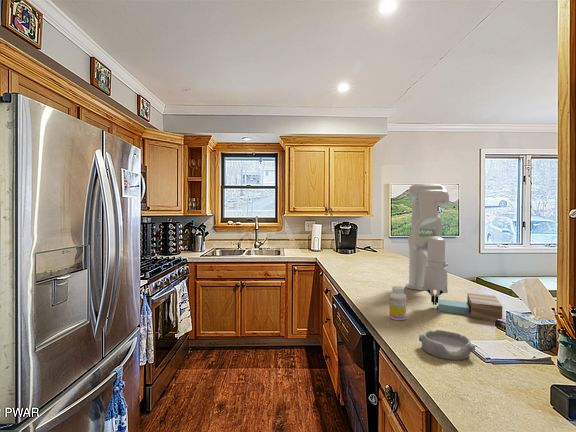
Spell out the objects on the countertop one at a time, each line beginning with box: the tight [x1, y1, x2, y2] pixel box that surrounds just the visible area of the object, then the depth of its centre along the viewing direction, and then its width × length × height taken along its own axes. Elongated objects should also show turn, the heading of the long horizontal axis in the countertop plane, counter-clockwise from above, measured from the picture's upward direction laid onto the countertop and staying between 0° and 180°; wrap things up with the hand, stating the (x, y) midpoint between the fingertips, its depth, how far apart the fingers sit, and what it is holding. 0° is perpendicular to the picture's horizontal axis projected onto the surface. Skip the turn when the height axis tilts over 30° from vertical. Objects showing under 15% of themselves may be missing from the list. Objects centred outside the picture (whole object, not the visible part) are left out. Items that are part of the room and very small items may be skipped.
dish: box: [418, 329, 476, 361], centre depth 104 cm, size 14×14×5 cm
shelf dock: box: [464, 292, 503, 322], centre depth 142 cm, size 18×13×6 cm
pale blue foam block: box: [437, 298, 470, 315], centre depth 147 cm, size 9×12×3 cm
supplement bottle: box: [389, 285, 407, 321], centre depth 135 cm, size 7×7×13 cm
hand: (434, 304), depth 150 cm, fingers closed
